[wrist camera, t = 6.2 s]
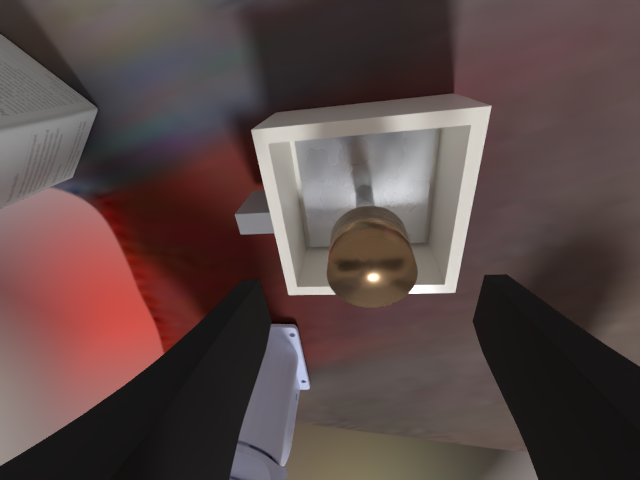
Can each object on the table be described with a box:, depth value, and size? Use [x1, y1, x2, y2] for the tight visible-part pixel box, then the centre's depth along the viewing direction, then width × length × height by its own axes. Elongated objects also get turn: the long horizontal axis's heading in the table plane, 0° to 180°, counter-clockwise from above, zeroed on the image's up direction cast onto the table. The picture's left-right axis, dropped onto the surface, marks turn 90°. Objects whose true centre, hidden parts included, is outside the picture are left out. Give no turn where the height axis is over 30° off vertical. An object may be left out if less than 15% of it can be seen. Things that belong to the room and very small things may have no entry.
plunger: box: [295, 128, 435, 308], centre depth 13 cm, size 7×7×8 cm
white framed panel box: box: [235, 93, 491, 295], centre depth 15 cm, size 9×11×4 cm
